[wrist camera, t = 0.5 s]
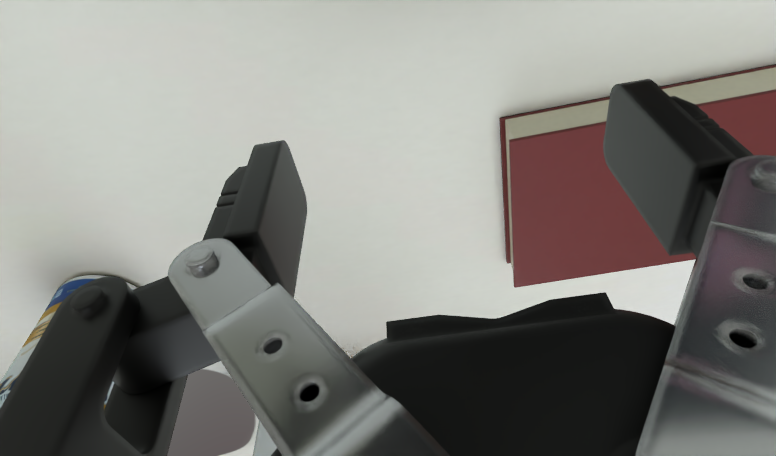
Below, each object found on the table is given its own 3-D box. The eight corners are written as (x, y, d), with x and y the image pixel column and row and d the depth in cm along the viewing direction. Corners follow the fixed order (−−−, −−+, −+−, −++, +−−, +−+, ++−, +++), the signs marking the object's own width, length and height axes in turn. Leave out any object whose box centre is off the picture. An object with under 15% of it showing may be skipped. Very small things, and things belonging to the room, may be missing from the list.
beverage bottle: (61, 322, 44) (-92, 588, 29) (52, 261, 39) (-140, 547, 24) (158, 337, 46) (61, 593, 31) (162, 281, 41) (48, 556, 26)
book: (499, 117, 32) (509, 142, 30) (806, 58, 30) (841, 79, 28) (506, 261, 41) (514, 287, 39) (740, 222, 39) (763, 248, 37)
